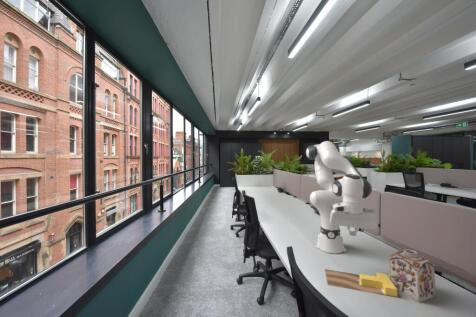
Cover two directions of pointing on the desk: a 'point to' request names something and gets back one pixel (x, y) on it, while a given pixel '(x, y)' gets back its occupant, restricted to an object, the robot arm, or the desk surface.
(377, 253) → the desk surface
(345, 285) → the board
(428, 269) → the decorative jar
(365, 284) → the t block
